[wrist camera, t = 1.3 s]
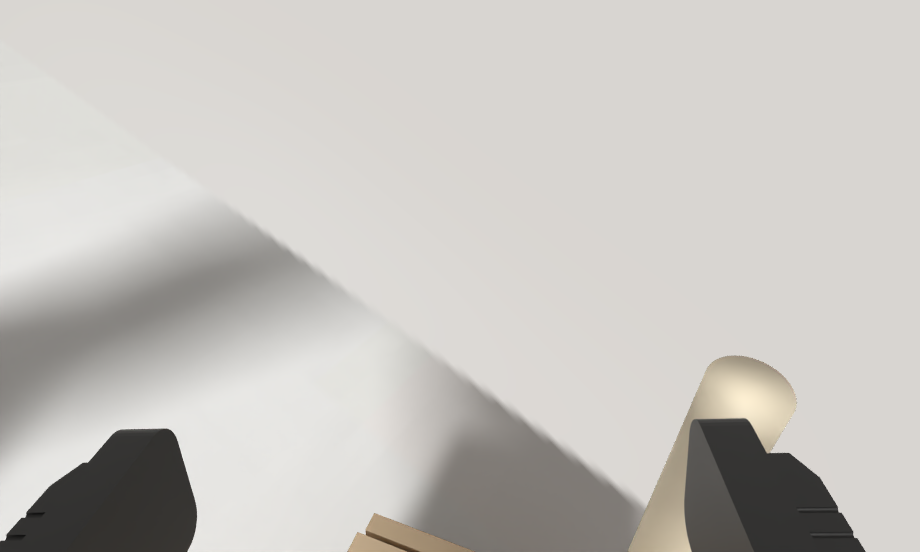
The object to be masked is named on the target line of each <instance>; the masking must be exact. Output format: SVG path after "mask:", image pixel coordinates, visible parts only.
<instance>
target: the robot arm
mask: <svg viewBox="0 0 920 552" xmlns="http://www.w3.org/2000/svg"><path fill="white" fill-rule="evenodd" d="M26 514H27V515H26V518H21V519H20V520H19V521H18V522H17V524H16V525H15V526H14V527H13V528H12V529H11V530H10V531H9V532H8V534H7V535H6V536H7V537H6V540H5V541H0V552H187V551H188V549H189V547H190V545H191V543H192V540H193V537H194V534H195V529H196V522H197V509H196V503H195V499H194V496H193V492H192V489H191V485H190V482H189V479H188V475H187V472H186V468H185V465H184V461H183V458H182V455H181V451H180V448H179V444H178V441H177V438H176V436H175V434H174V433H173V432H172V431H171V430H169V429H126V430H119V431H117V432H115V433H114V434H113V435H112V436H111V437H110V438H109V439H108V440H107V441H106V443H105V444H104V445H103V446H102V447H101V448H100V450H99V451H98V452H97V453H96V454H95V455H94V457H93V458H92V459H91V460H90V461H89V462H88V463H82V464H81V465H79V466H78V467H76V468H75V469H74V470H72V471H71V472H69V473H68V474H66V475H65V476H64V477H62V478H61V479H59V480H58V481H56V482H55V483H54V484H52V485H51V486H50V487H49V488H48V489H47V490H46V491H45V492H44V493H43V494H42V496H41V497H40V498H39V499H38V500H37V501H36V502H35V503H34V505H33V506H32V507H31V508H30V509H29V510H28V511H27V512H26ZM684 514H685V524H686V531H687V536H688V540H689V544H690V548H691V551H692V552H865V550H864V548H863V547H862V546H861V544H860V542H859V540H858V539H857V538H854V536H853V531H852V529H851V527H850V526H849V524H848V523H847V521H846V519H845V518H844V516H843V515H842V513H839V512H838V507H837V505H836V503H835V502H834V500H833V498H832V497H831V495H830V493H829V492H828V490H827V489H826V487H825V485H824V484H823V482H822V481H821V479H820V477H818V476H817V475H816V474H814V473H813V472H812V471H811V470H810V469H808V468H807V467H806V466H805V465H803V464H802V463H801V462H800V461H798V460H797V459H796V458H795V457H793V456H792V455H791V454H790V453H767V452H766V451H765V449H764V447H763V445H762V443H761V441H760V439H759V438H758V436H757V434H756V432H755V430H754V428H753V426H752V425H751V423H750V422H749V420H748V419H746V418H728V419H694V420H693V421H692V422H691V426H690V432H689V445H688V458H687V471H686V483H685V496H684Z"/></svg>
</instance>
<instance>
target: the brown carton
mask: <svg viewBox="0 0 920 552" xmlns="http://www.w3.org/2000/svg"><path fill="white" fill-rule="evenodd" d="M347 552H407V551H404V550H402V549H399V548H397V547H394V546H392V545H389V544H386V543H384V542H381V541H379V540H376V539H374V538H371V537H369V536H366V535H364V534H361V533H358V532H357V534H356V536H355V538H354V540H353V542H352V544H351V546H350V548H349V549H348V551H347Z"/></svg>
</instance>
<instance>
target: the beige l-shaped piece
mask: <svg viewBox="0 0 920 552" xmlns="http://www.w3.org/2000/svg"><path fill="white" fill-rule="evenodd" d="M796 404H797V402H796V396H795V393H794V390H793V388H792V387H791V385H790V383H789V382H788V381H787V380H786V378H785V377H784V376H783V375H782V374H780V373H779V372H778V371H777V370H775V369H774V368H772V367H771V366H769V365H767V364H765V363H764V362H761V361H759V360H756V359H753V358H749V357H744V356H726V357H722V358H719V359H717V360H715V361H713V362H712V363H711V364H710V365H709V366H708V368H707V370H706V372H705V374H704V377H703V379H702V381H701V383H700V386H699V388H698V390H697V392H696V395H695V397H694V399H693V402H692V404H691V407H690V409H689V411H688V413H687V416H686V418H685V420H684V422H683V425H682V427H681V429H680V432H679V434H678V436H677V439H676V441H675V443H674V445H673V448H672V450H671V452H670V455H669V457H668V460H667V462H666V464H665V467H664V469H663V471H662V473H661V475H660V478H659V480H658V482H657V485H656V487H655V489H654V492H653V494H652V496H651V498H650V501H649V503H648V505H647V508H646V510H645V512H644V515H643V517H642V519H641V522H640V524H639V526H638V528H637V531H636V533H635V535H634V538H633V540H632V542H631V545H630V547H629V549H628V551H627V552H692V551H691V548H690V544H689V540H688V536H687V531H686V524H685V514H684V496H685V483H686V471H687V458H688V445H689V432H690V426H691V422H692V421H693V420H694V419H728V418H746V419H748V420H749V422H750V423H751V425H752V426H753V428H754V430H755V432H756V434H757V436H758V438H759V439H760V441H761V443H762V445H763V447H764V449H765V451H766V452H767V453H770V452H771V450H772V449H773V447H774V445H775V444H776V442H777V440H778V439H779V437H780V435H781V433H782V432H783V430H784V429H785V427H786V425H787V424H788V422H789V420H790V419H791V417H792V415H793V414H794V412H795V409H796ZM366 536H369V537H371V538H374V539H376V540H379V541H381V542H384V543H386V544H389V545H392V546H394V547H397V548H399V549H402V550H404V551H407V552H474V551H472V550H469V549H467V548H464V547H461V546H459V545H456V544H454V543H451V542H448V541H446V540H443V539H441V538H438V537H435V536H433V535H430V534H428V533H425V532H422V531H420V530H417V529H415V528H412V527H409V526H407V525H404V524H401V523H399V522H396V521H394V520H391V519H388V518H386V517H383V516H381V515H378V514H375V513H374V515H373V517H372V518H371V520H370V522H369V524H368V526H367V528H366Z"/></svg>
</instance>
